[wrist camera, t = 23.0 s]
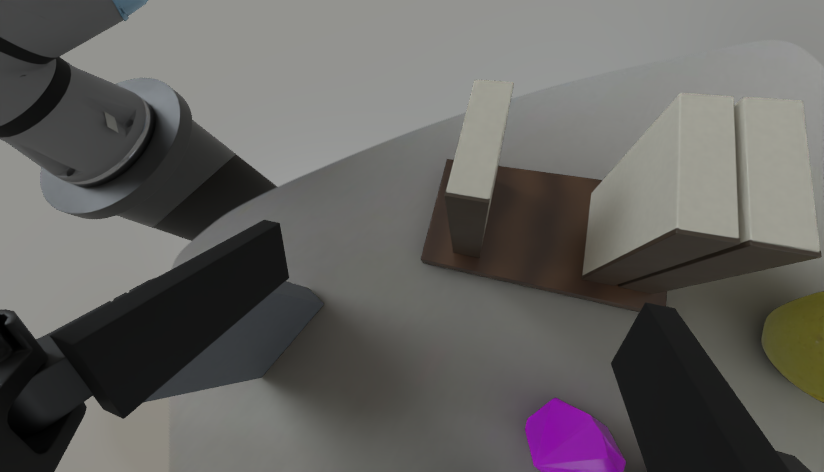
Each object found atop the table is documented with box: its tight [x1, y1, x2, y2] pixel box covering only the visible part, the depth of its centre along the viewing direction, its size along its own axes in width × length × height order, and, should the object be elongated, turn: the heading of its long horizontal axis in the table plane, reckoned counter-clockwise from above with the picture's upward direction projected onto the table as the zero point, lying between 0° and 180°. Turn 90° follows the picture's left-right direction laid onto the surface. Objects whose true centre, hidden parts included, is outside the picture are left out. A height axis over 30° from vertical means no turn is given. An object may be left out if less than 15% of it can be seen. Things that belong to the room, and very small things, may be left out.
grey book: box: [144, 281, 324, 402], centre depth 23 cm, size 9×3×13 cm, turn 140°
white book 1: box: [444, 80, 514, 258], centre depth 23 cm, size 8×2×12 cm, turn 165°
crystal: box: [525, 398, 626, 472], centre depth 21 cm, size 5×5×5 cm
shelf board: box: [421, 159, 667, 312], centre depth 28 cm, size 20×11×2 cm, turn 75°
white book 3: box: [619, 97, 822, 294], centre depth 19 cm, size 8×2×12 cm, turn 165°
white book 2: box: [582, 93, 740, 286], centre depth 20 cm, size 8×2×12 cm, turn 165°
